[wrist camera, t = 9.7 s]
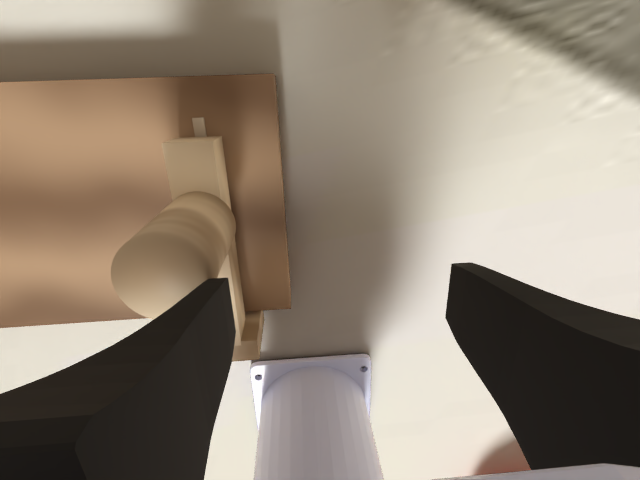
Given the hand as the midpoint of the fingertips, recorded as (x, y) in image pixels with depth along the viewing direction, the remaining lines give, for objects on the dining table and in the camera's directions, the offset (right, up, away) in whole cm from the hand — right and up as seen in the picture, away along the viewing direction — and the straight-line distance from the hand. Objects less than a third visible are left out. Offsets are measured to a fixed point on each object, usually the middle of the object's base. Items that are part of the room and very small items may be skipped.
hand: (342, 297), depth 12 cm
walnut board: (-13, +4, +8) cm, 15 cm away
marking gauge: (-6, +3, +9) cm, 11 cm away
